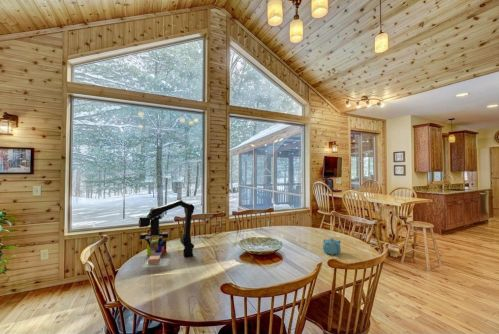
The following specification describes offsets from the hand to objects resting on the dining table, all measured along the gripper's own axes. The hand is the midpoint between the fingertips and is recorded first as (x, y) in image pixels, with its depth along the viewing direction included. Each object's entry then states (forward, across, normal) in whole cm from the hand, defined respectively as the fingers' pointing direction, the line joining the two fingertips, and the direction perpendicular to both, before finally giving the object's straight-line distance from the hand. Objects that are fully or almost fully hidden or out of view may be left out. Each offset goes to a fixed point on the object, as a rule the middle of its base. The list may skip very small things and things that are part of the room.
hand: (154, 247), depth 169 cm
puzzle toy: (+11, +1, -17) cm, 20 cm away
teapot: (+11, -135, +6) cm, 135 cm away
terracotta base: (+10, 0, 0) cm, 10 cm away
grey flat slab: (+11, -2, +2) cm, 11 cm away
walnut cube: (+1, 0, 0) cm, 1 cm away
